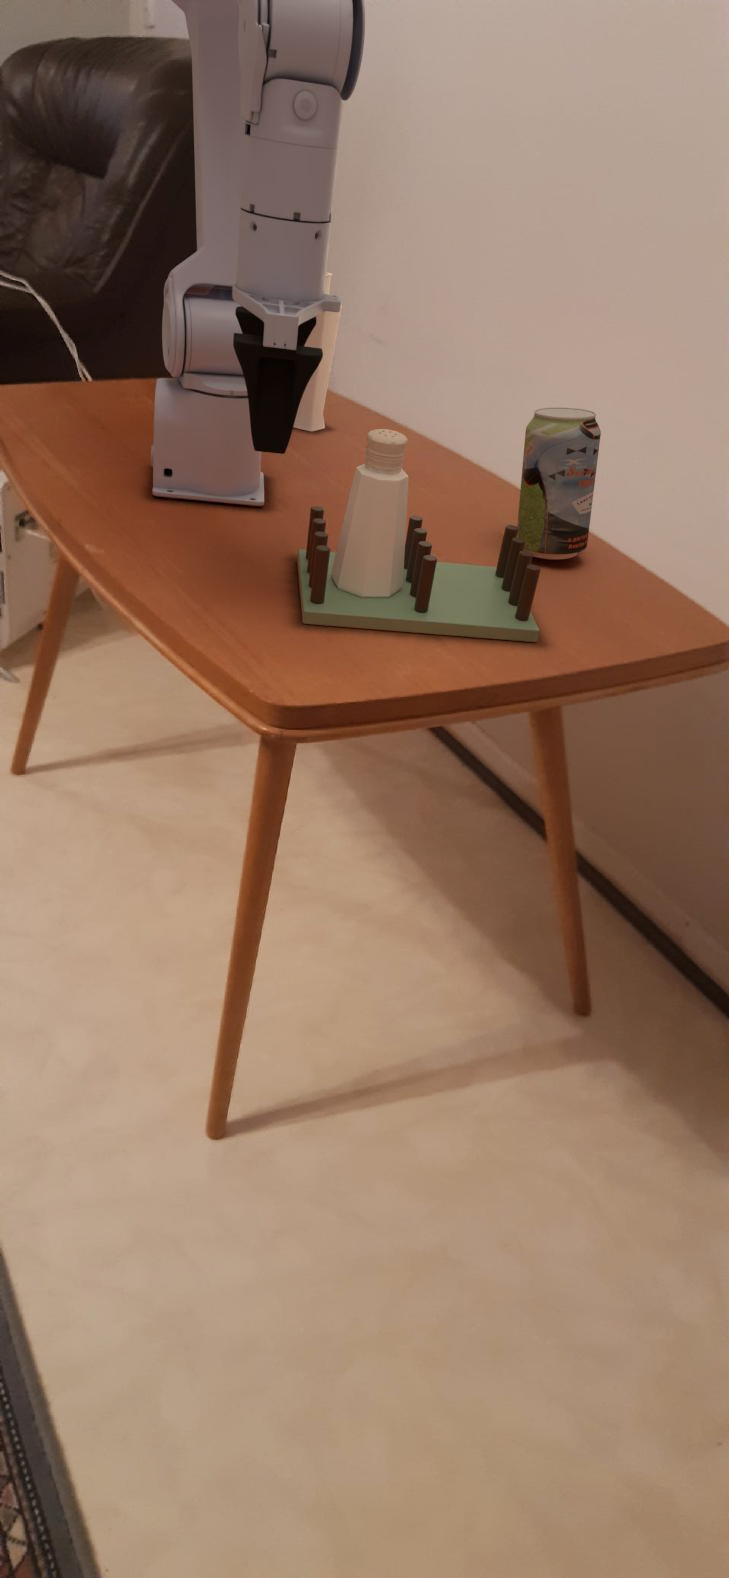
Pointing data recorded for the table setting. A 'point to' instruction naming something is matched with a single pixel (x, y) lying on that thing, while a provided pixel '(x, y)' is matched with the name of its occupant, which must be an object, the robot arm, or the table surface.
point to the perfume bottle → (319, 369)
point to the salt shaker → (375, 521)
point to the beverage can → (558, 481)
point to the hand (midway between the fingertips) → (268, 433)
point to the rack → (426, 590)
